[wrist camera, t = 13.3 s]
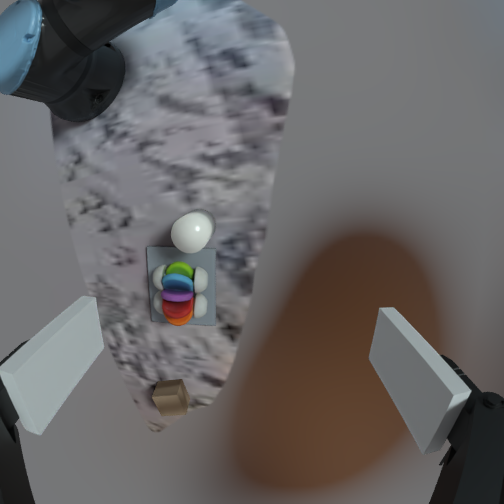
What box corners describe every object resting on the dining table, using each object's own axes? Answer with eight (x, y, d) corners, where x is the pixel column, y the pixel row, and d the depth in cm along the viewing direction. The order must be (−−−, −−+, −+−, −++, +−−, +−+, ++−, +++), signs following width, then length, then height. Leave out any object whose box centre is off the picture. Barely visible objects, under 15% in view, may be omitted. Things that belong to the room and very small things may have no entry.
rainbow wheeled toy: (158, 311, 50) (145, 331, 43) (157, 255, 48) (142, 269, 41) (208, 316, 50) (202, 338, 43) (210, 259, 48) (203, 274, 41)
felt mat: (148, 245, 48) (146, 246, 47) (215, 248, 48) (215, 249, 47) (153, 319, 51) (152, 321, 50) (215, 323, 51) (215, 325, 51)
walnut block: (158, 381, 54) (151, 396, 50) (181, 378, 54) (176, 395, 49) (167, 400, 56) (161, 416, 51) (190, 398, 55) (186, 414, 51)
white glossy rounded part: (179, 214, 47) (166, 222, 40) (210, 204, 46) (200, 211, 39) (189, 245, 48) (178, 257, 41) (220, 236, 47) (212, 247, 41)
